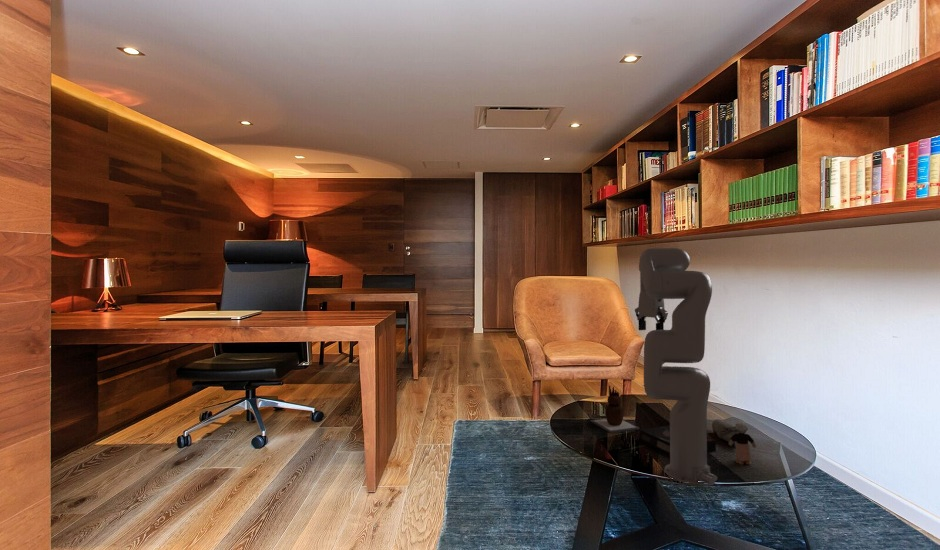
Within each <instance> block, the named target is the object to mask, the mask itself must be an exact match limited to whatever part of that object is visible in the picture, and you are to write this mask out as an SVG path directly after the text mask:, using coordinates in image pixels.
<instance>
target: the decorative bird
mask: <svg viewBox="0 0 940 550" xmlns="http://www.w3.org/2000/svg"><path fill="white" fill-rule="evenodd" d="M711 428H712V431H713V432H712V433H714V434H717V436H718V438H719V439H722V440H724V441H726V442H728V443H729V442H730V438H731V437H732V436H733V435H734V434H739V432H738V431H737V429H736V427H735V426H734V425H733V424H731V423H729V422H726V421H723V420H721V419H714V420H713V421H712V423H711ZM731 448H732V450H734V448H736V441H735V442H733V443H732V445H730V447H729V449H731Z"/></svg>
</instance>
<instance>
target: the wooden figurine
mask: <svg viewBox="0 0 940 550" xmlns="http://www.w3.org/2000/svg"><path fill="white" fill-rule="evenodd" d="M611 388H612V389H611ZM621 404H622V398H621V396H620V392H619V391H617V389H615V386H612V387H611V385H608V396H607V405H605V408H604V412H605V418H606V419H607V422H608V423H609V424H611V425H620V424H621V423H622V421H623V420H624V414H625V410H624V408H623V406H622V405H621Z"/></svg>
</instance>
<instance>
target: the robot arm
mask: <svg viewBox="0 0 940 550" xmlns="http://www.w3.org/2000/svg"><path fill="white" fill-rule="evenodd" d="M638 262H639V263H638V270H639V273H640V275H639V279H640V281H639V284H640V285H639V287H640V291H639V295H638V296H639V297H638V307H635V309H634V312H635V313H634V314H635V317H636V319H637V321H638V330H639V331H646V330H647V321H646V318H653V319H655V321H656V323H655V329H653V330H650V331H649V332H647V334H646V335H645V339H644V343H643V344H644V346H643V389H644V392H645V394H646V396H648V397H649V398H651V399H654V400H667V401H668V400H670V401H671V400H673V401H676V402H675V403H674V405H673V406H672V408H671V409H670V412H669V425H670V455H669V458H670V459H669V460H670V461H669V462H670V463H668V464H666V465H665V466H664V474H665V473H666V474H667V475H668V476H669V477H671V478H673V479H674V480H673V481H675V482H677V481H681V482H689V483H681V482H678V483H679V484H683V485H686V486H692V487H707V486H714V484H715V483H716V481H717V480H718V476H717V475H716V474H713V473H711V466H710V465H708V453H707V437H708V432H707V431H708V430H707V428H708V422H707V421H708V420H707V419H708V403H709V396H710V392H711V379H710V376H709V374H708V373H707V372H706V371H704V370H703V369H701V368H698V367H693V366H692V367H691V366H668V365H664V364H665V363H666V364H667V363H669V364H670V363H671V364H696V363H700V362H701V361H703V359H704V357H705V348H706V347H705V344H706V343H705V341H706V315H707V312H708V308H709V306H710V303H711V299H712V294H713V283H712V280H711V278H710V276H709V275H708V274H707V273H706V272H705V273H704V272H702V271H697V270H687V269H688V268H689V266H690V264H691V258H690V256H689V253H687V251H686V250H683V249H680V248H678V247H677V248H676V247H662V248H658V247H655V248H654V247H653V248H647V249H644V251H643V252H642V253H641V254H640V257H639V261H638ZM665 300H682V301H681V302H680V303H679V304H677V306H676V307H675V308H674V310H673V311H672V313H671V328H670V329H664V323H666V320H667V318H668V314H669V312H668V311H667V310H666V309H665V308H666V307H665ZM663 365H664V366H663ZM666 474H665V475H666ZM667 475H666V476H667ZM668 476H667V477H668ZM669 477H668V478H669ZM671 478H670V479H671ZM698 481H705V482H698ZM704 483H708V484H704Z"/></svg>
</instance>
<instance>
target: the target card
mask: <svg viewBox="0 0 940 550" xmlns="http://www.w3.org/2000/svg"><path fill="white" fill-rule="evenodd" d="M589 421H590V423H592V424H593V425H595V426H597V427H599V428H601V429H602V430H604V431H605V432H607V433H610V434H613V433H620V432H629V431H636V430H641V429H640V427H639V426H638V425H635V424H633V423H631V422H629V421H627V420H625V419H623V421H622V423H621V424H620V425H611V424H609V423H608V422H607V419H606V417H605V418H598V419H597V418H596V419H591V420H589Z"/></svg>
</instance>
